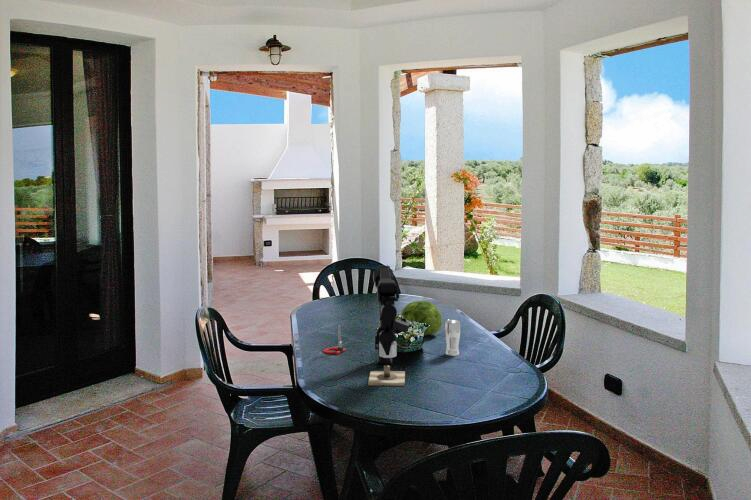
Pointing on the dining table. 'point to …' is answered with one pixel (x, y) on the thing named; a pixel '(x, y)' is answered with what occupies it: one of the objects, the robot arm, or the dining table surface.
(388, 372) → the bronze post
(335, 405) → the dining table surface
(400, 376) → the birch base board
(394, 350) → the aluminium ring
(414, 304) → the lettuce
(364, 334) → the dining table surface
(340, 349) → the tow hook
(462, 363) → the dining table surface
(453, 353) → the beer glass
